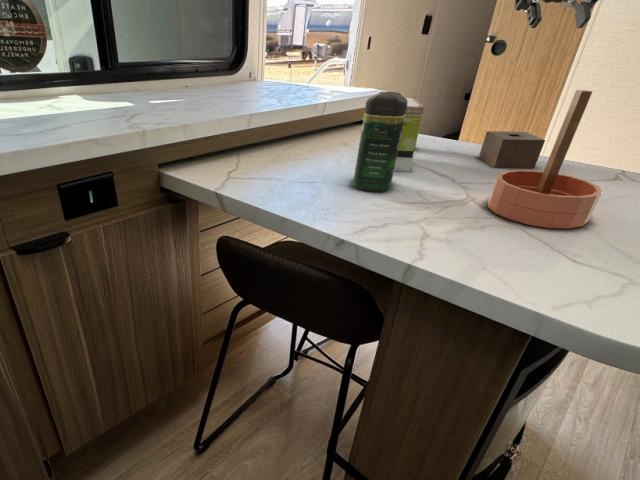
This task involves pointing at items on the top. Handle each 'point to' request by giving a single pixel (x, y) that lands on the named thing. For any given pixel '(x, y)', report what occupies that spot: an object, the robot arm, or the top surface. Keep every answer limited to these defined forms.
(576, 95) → the stirring stick
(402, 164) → the tea box
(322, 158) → the top surface
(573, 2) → the robot arm
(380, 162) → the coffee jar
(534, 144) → the block
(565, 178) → the bowl
